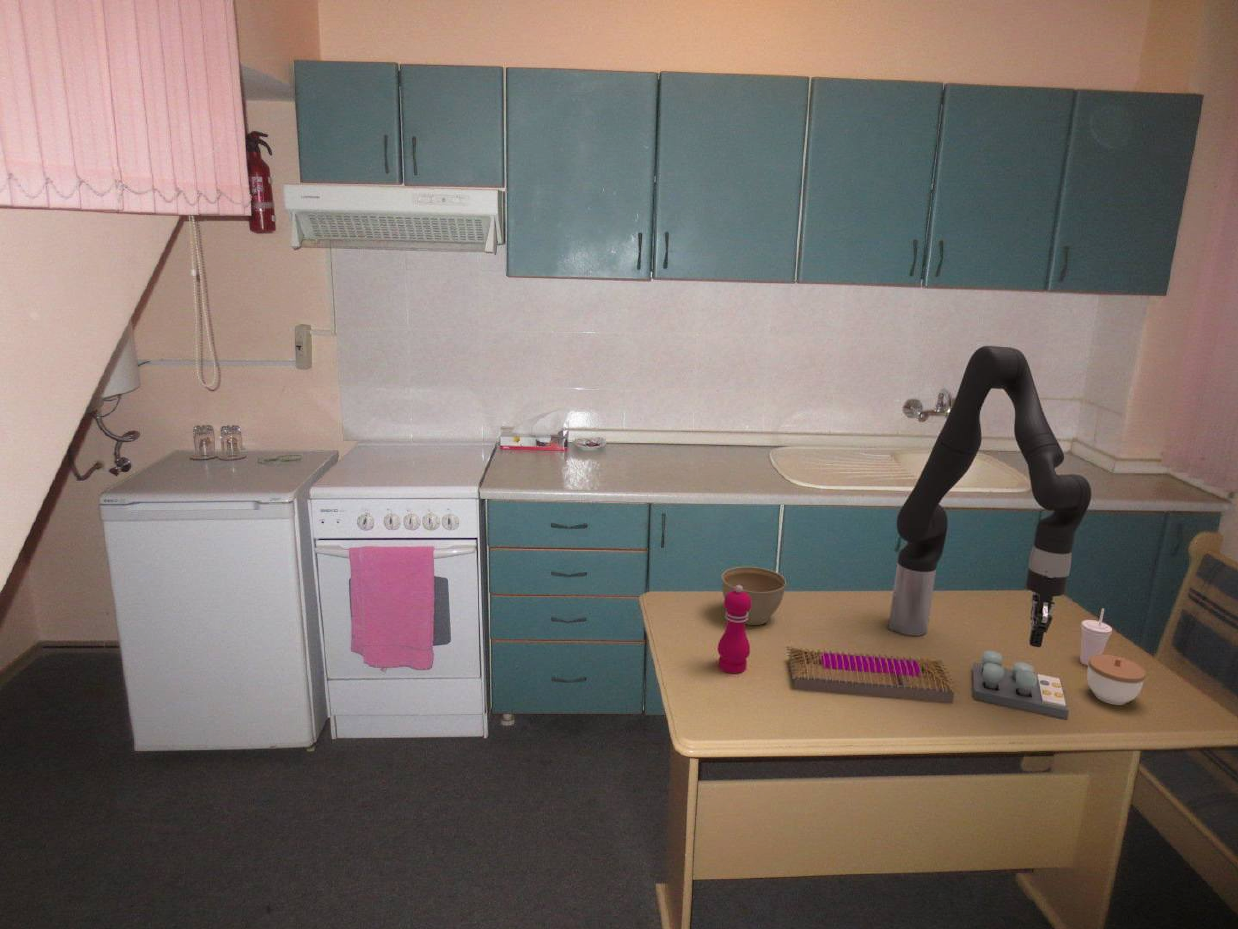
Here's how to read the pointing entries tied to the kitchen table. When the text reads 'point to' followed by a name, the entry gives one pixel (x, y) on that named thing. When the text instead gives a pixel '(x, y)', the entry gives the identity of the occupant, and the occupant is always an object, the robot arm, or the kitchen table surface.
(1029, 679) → the button near right
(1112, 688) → the lidded jar
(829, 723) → the kitchen table surface
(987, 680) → the button near left
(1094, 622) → the smoothie
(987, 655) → the button far left
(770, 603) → the planter bowl
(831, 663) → the rafter model
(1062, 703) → the button board
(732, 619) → the pepper mill
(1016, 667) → the button far right
